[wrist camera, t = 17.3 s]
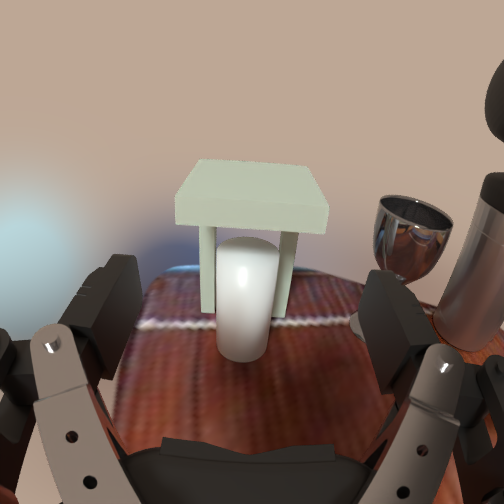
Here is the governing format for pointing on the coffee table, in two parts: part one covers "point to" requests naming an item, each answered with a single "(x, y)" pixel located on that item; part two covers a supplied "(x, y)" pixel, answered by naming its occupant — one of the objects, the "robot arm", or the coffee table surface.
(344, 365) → the coffee table surface
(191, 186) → the small green stool
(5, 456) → the robot arm
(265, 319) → the white plastic cylinder
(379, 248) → the wine glass
